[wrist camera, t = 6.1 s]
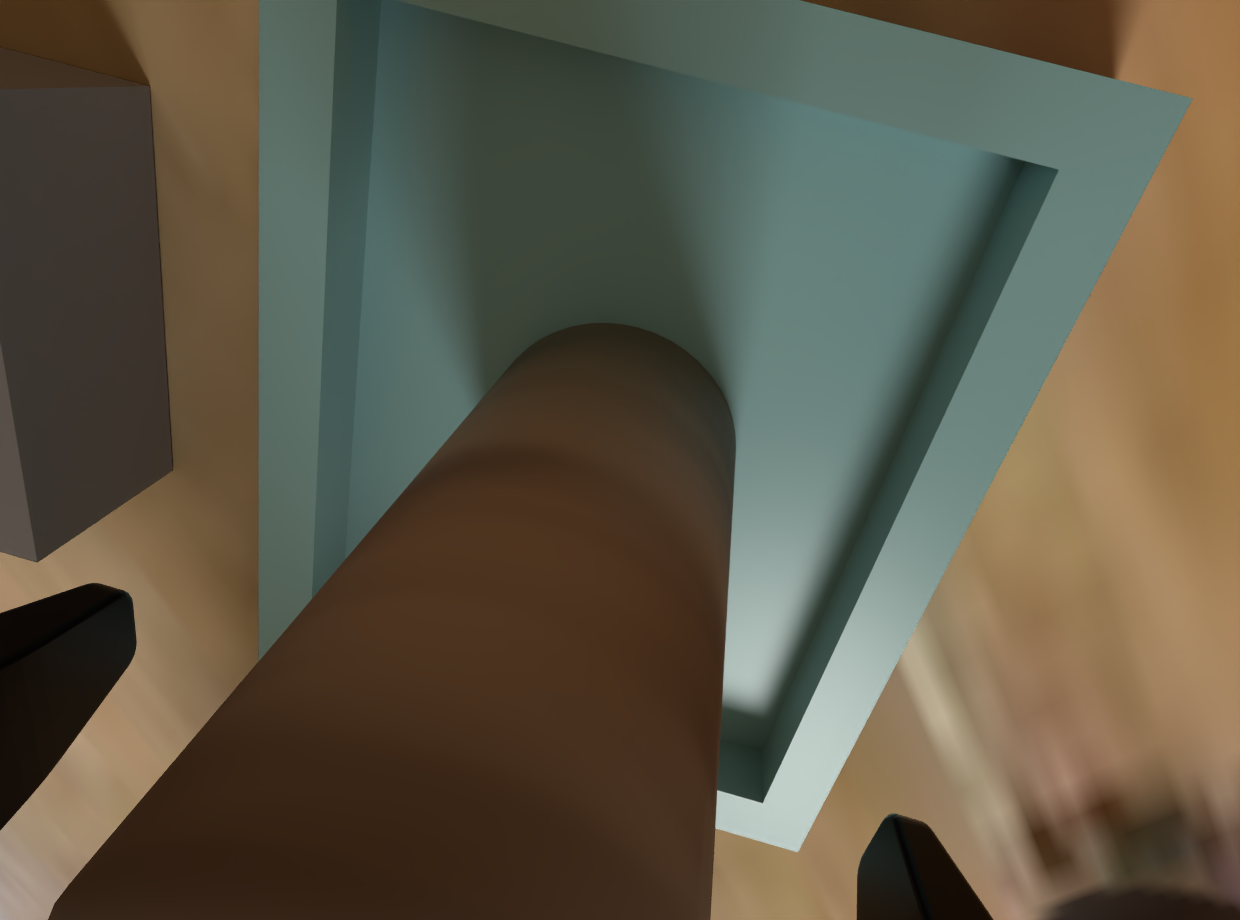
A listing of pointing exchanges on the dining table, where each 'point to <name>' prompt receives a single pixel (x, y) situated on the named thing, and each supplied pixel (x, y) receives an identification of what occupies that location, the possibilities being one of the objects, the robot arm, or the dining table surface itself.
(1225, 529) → the dining table surface
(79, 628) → the robot arm
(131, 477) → the holder
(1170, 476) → the dining table surface
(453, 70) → the tray
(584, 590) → the pepper mill
